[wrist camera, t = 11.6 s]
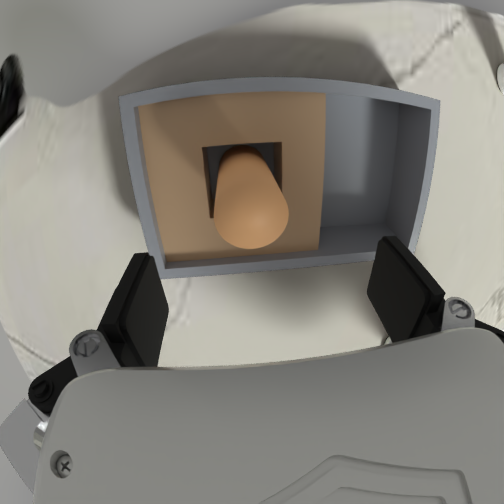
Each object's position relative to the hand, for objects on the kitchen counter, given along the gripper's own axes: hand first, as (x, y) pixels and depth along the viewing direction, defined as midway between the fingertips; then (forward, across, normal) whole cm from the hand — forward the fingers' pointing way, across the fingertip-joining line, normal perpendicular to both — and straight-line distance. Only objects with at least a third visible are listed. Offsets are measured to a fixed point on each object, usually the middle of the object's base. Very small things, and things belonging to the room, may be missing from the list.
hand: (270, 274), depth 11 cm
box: (+16, -3, -1) cm, 16 cm away
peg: (+14, +1, -1) cm, 15 cm away
